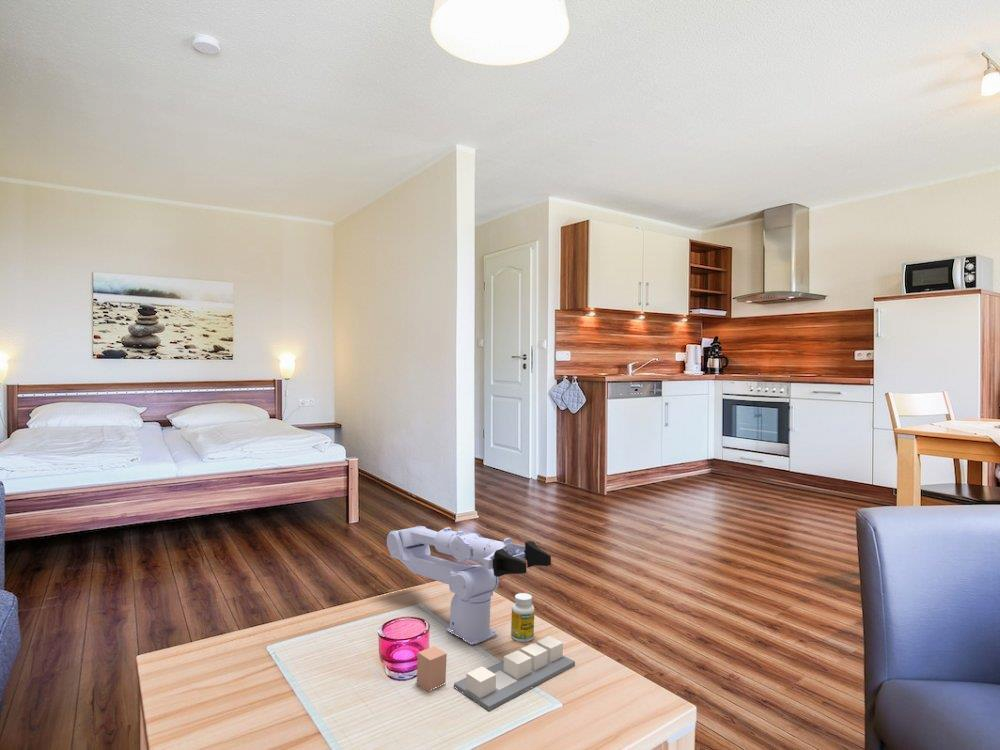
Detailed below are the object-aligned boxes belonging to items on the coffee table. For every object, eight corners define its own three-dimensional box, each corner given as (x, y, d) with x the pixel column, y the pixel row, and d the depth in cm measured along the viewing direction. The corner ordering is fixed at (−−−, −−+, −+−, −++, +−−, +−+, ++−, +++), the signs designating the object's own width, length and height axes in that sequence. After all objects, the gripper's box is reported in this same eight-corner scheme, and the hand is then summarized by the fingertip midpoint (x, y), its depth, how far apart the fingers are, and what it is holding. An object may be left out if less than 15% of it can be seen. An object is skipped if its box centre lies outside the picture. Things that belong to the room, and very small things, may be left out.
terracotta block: (416, 682, 109) (417, 652, 109) (433, 675, 112) (434, 645, 112) (428, 691, 106) (430, 660, 106) (445, 684, 109) (446, 653, 109)
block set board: (453, 687, 108) (454, 667, 108) (539, 647, 125) (540, 630, 125) (488, 711, 101) (489, 690, 101) (574, 665, 118) (575, 647, 118)
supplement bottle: (524, 630, 134) (526, 590, 134) (538, 639, 129) (539, 598, 129) (506, 635, 131) (507, 594, 131) (519, 644, 126) (521, 602, 126)
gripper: (468, 540, 122) (513, 551, 112) (515, 530, 132) (559, 538, 122) (469, 573, 121) (513, 587, 111) (516, 560, 131) (560, 571, 121)
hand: (537, 564), depth 117 cm, fingers open, 7 cm apart
